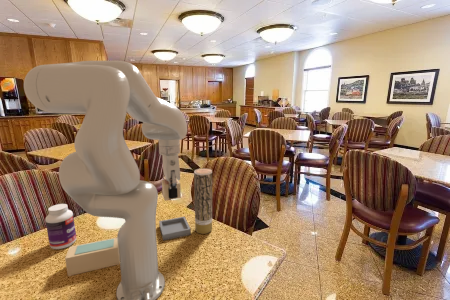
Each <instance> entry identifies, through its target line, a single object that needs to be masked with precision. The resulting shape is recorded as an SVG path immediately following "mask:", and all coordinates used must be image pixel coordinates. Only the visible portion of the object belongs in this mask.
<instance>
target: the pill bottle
mask: <svg viewBox="0 0 450 300" xmlns="http://www.w3.org/2000/svg"><path fill="white" fill-rule="evenodd" d="M47 211H48V214H47V216H46V217H45V226H46V231H47V233H46V234H47V238H48V245H49V247H50V248H51V249H53V250H62V249H66V248H69V247H70V246H73V244H74V243H75V242H76V241H77V233H76V225H75V218H74V213H73V211H72V210H71V209H69V208H68V204H66V203H57V204H55V205H51V206H50V207H48V208H47Z"/></svg>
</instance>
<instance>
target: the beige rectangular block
mask: <svg viewBox="0 0 450 300" xmlns="http://www.w3.org/2000/svg"><path fill="white" fill-rule="evenodd" d="M64 260H65V267H66V272H67V276H68V277H70V276H75V275H78V274H83V273H87V272H91V271H96V270H100V269H104V268H108V267H112V266H116V265H120V259H119V249H118V241H117V237H113V238H112V237H111V238H108V239H102V240H101V239H100V240H96V241H91V242H87V243H81V244H77V245H70V246H68V250H67V253H66V255H65V258H64Z"/></svg>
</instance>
